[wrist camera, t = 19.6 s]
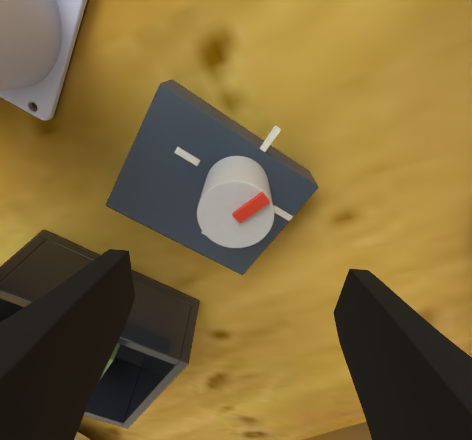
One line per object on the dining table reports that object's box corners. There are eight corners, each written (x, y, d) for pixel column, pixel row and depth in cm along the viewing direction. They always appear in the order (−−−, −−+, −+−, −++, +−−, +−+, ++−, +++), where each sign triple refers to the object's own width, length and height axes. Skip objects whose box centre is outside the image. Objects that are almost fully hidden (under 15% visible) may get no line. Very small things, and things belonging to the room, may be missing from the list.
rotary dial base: (120, 188, 19) (103, 207, 17) (183, 54, 15) (172, 54, 13) (242, 253, 22) (242, 277, 19) (324, 154, 18) (336, 168, 15)
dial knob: (233, 223, 17) (230, 264, 14) (192, 182, 16) (179, 215, 13) (281, 190, 16) (290, 225, 13) (241, 141, 15) (240, 166, 11)
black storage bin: (14, 315, 26) (-41, 378, 21) (43, 228, 21) (-20, 283, 16) (147, 365, 29) (127, 429, 24) (200, 300, 24) (188, 364, 19)
